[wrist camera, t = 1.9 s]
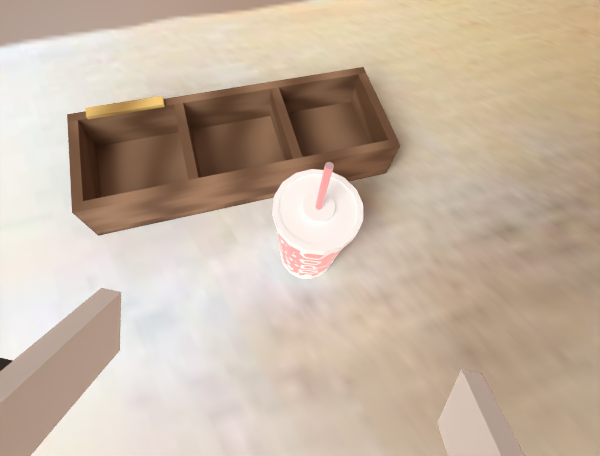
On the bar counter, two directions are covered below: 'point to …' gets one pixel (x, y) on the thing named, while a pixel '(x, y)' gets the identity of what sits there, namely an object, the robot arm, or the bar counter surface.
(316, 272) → the beverage cup
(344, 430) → the bar counter surface
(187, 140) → the brown wooden compartment tray
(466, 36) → the bar counter surface
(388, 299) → the bar counter surface
